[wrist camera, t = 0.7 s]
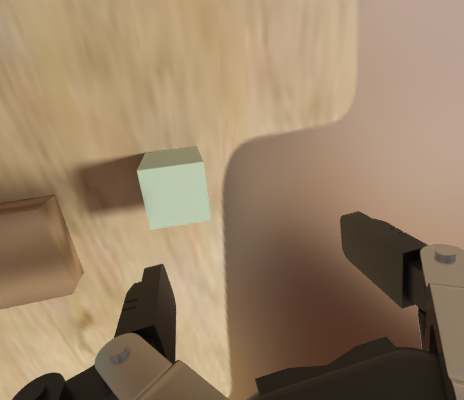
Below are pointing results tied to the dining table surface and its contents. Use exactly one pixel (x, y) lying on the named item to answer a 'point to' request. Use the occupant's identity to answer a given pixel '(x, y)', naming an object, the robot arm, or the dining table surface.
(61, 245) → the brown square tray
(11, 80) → the dining table surface
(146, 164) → the green block
